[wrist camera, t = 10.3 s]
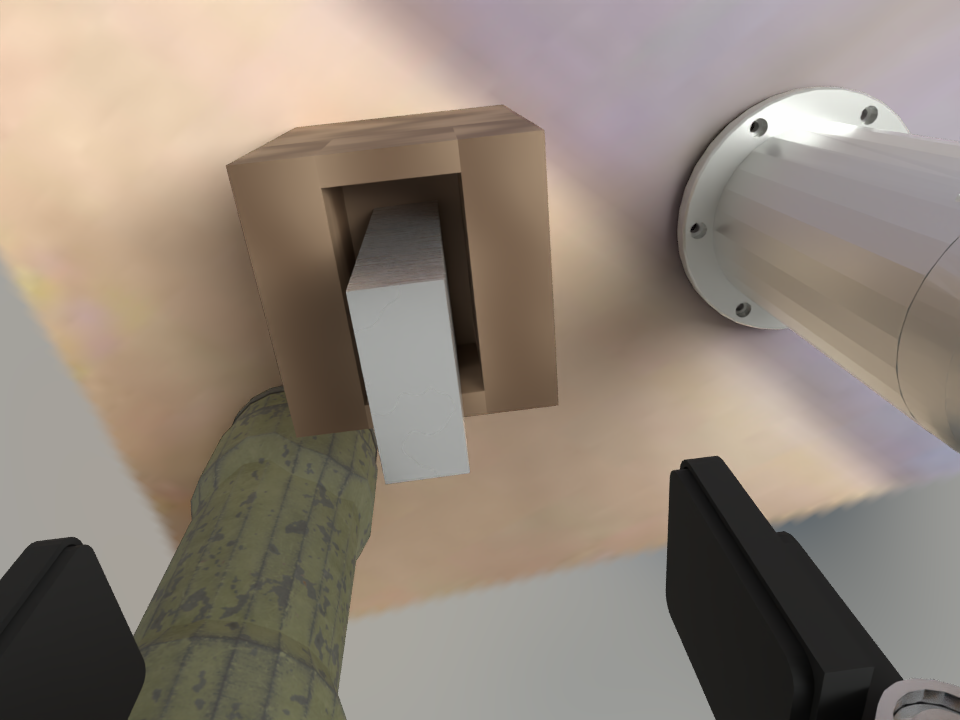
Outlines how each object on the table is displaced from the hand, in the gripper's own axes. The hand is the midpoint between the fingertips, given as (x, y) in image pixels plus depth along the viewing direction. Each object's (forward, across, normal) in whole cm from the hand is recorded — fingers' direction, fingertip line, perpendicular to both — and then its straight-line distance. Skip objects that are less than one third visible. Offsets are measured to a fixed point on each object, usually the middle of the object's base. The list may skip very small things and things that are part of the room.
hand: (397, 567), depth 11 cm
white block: (+18, 0, +1) cm, 18 cm away
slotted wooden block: (+25, 0, 0) cm, 25 cm away
